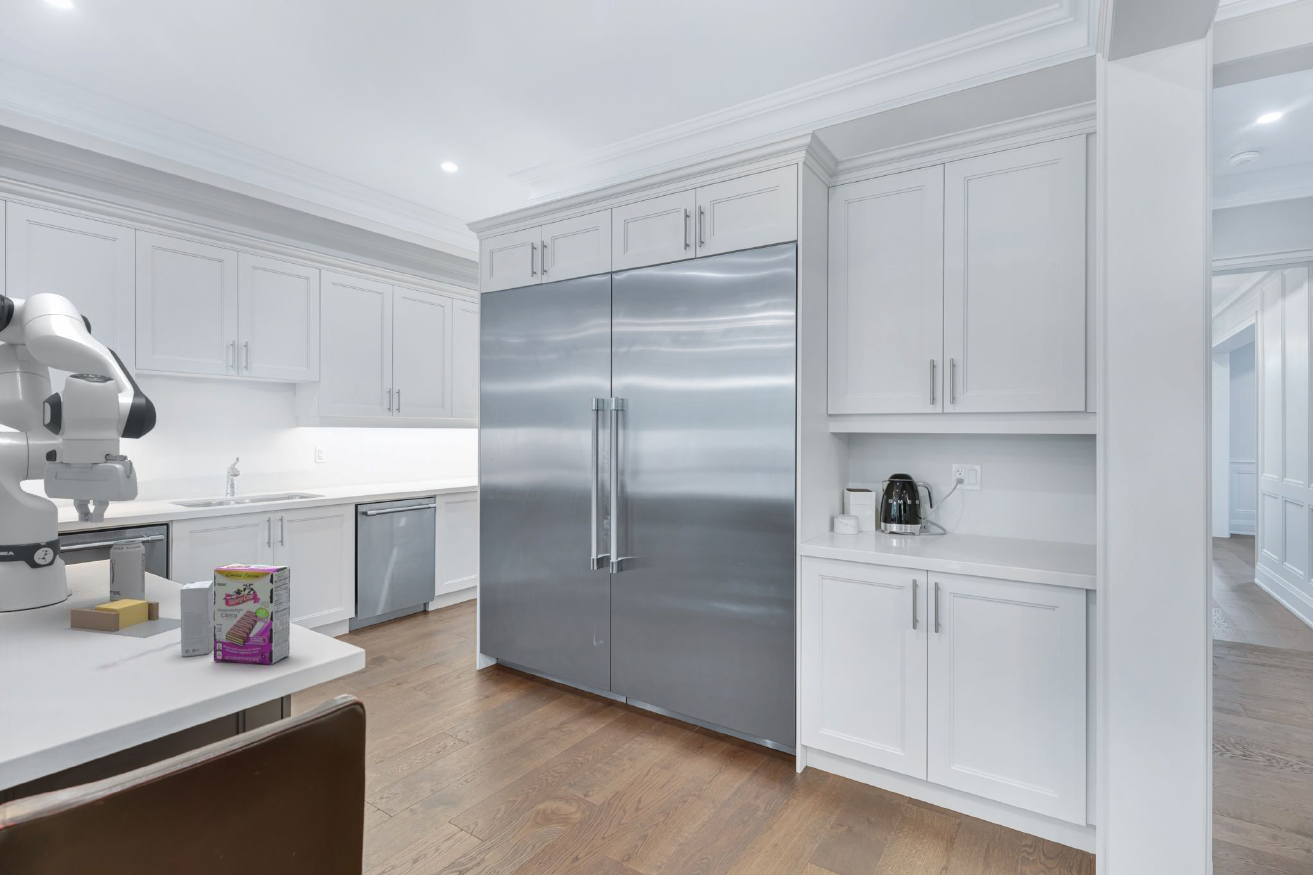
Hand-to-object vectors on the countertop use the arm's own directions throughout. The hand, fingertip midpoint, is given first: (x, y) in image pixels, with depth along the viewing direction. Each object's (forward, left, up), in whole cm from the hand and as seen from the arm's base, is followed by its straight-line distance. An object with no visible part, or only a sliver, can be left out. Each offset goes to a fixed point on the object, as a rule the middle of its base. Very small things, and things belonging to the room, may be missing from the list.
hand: (91, 521), depth 132 cm
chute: (+11, 0, -21) cm, 24 cm away
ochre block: (+8, 0, -20) cm, 22 cm away
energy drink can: (-5, +11, -21) cm, 24 cm away
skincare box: (+34, -6, -21) cm, 41 cm away
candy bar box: (+47, -7, -21) cm, 52 cm away
